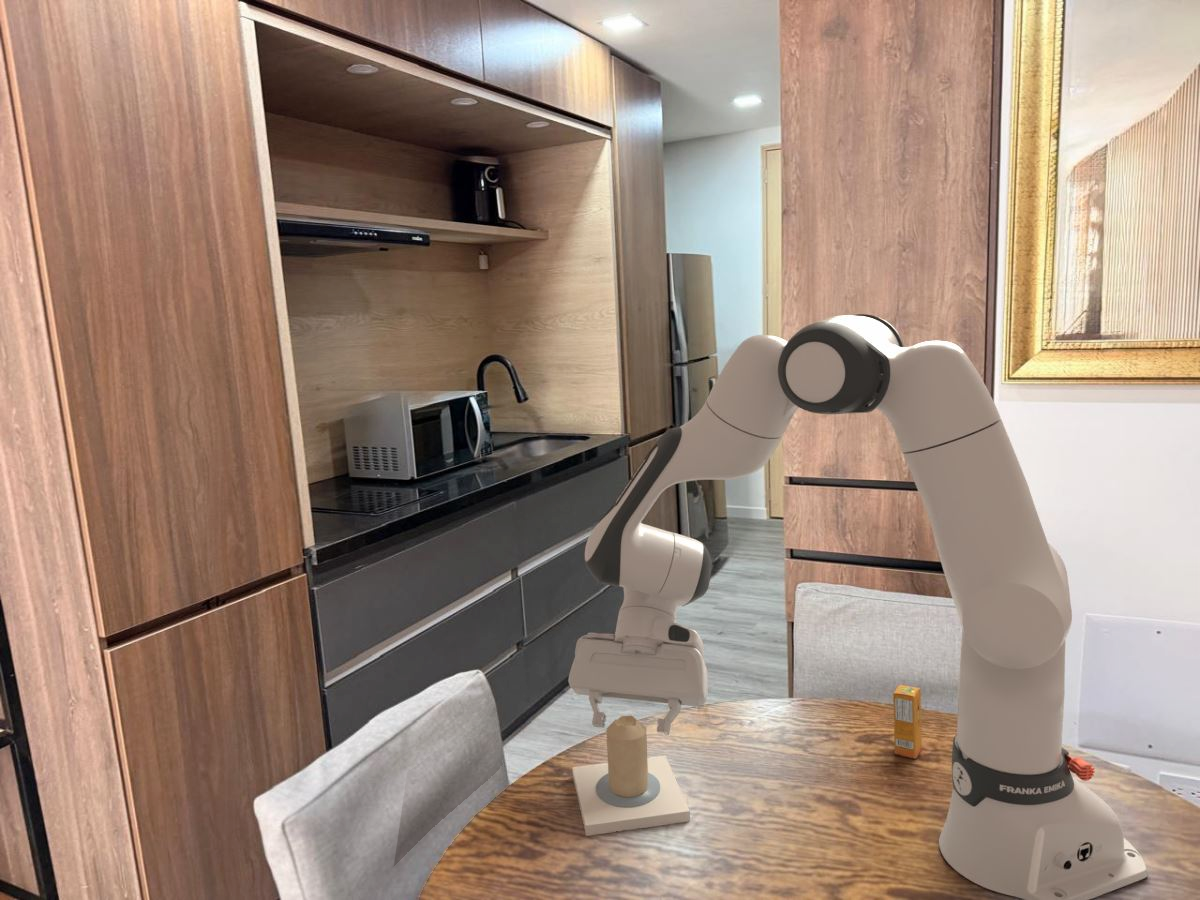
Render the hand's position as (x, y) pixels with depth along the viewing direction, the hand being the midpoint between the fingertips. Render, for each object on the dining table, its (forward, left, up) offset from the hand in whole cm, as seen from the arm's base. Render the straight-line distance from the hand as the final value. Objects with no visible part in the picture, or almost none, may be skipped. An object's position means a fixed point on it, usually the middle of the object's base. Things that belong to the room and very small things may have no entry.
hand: (630, 729), depth 114 cm
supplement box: (-42, 0, -9) cm, 43 cm away
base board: (+1, +2, -9) cm, 9 cm away
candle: (+1, +2, -8) cm, 8 cm away
